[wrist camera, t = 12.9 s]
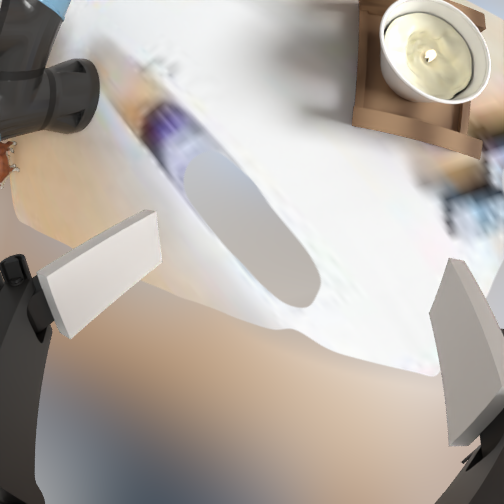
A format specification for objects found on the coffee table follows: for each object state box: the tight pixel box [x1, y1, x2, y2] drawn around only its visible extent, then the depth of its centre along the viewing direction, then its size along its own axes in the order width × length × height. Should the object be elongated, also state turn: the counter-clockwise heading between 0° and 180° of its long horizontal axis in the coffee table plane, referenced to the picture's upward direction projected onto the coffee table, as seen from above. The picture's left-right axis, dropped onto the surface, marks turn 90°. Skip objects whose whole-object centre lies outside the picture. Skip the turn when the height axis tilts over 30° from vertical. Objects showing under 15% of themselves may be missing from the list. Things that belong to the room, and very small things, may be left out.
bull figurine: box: [0, 141, 19, 189], centre depth 54 cm, size 4×13×8 cm, turn 175°
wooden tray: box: [352, 0, 486, 160], centre depth 22 cm, size 14×17×7 cm
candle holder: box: [380, 0, 491, 104], centre depth 19 cm, size 10×10×12 cm
